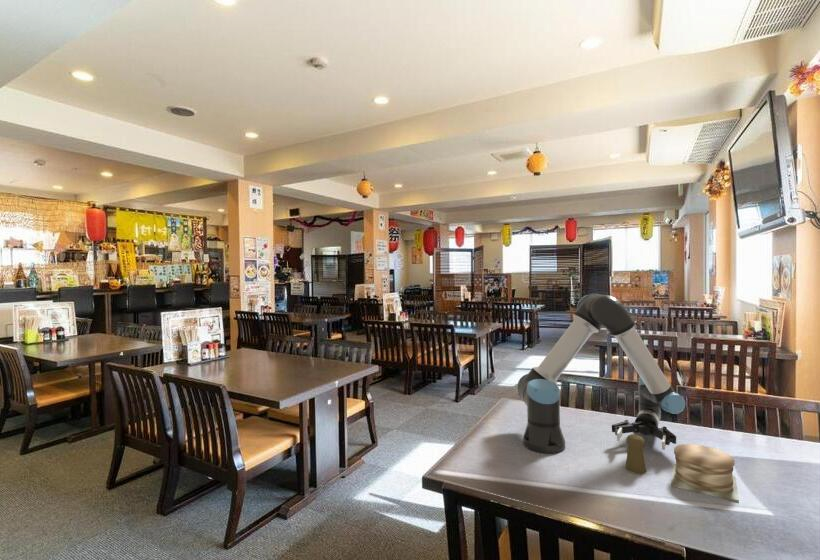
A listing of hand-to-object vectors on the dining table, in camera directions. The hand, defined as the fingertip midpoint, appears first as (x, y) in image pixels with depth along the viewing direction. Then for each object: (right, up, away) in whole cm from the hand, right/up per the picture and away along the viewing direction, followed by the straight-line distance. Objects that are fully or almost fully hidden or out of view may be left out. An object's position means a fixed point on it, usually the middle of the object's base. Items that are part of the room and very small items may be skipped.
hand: (640, 441), depth 141 cm
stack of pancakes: (+11, -6, -16) cm, 20 cm away
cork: (-5, -7, -7) cm, 11 cm away
